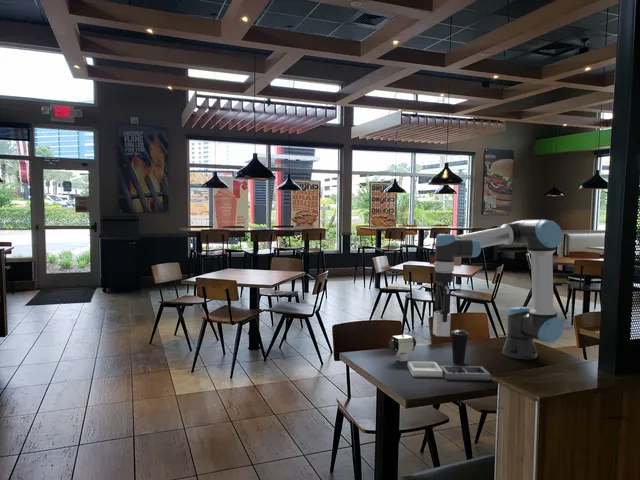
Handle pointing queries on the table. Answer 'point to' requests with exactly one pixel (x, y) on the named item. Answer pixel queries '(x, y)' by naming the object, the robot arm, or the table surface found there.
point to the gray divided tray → (465, 373)
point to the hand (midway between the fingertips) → (441, 327)
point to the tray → (425, 369)
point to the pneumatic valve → (402, 346)
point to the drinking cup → (459, 344)
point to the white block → (437, 325)
